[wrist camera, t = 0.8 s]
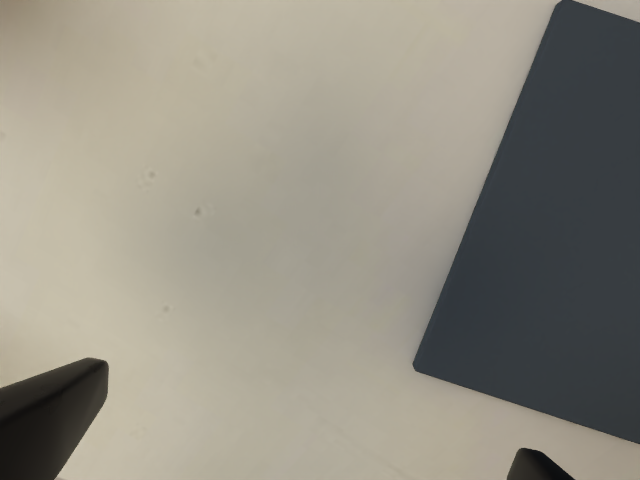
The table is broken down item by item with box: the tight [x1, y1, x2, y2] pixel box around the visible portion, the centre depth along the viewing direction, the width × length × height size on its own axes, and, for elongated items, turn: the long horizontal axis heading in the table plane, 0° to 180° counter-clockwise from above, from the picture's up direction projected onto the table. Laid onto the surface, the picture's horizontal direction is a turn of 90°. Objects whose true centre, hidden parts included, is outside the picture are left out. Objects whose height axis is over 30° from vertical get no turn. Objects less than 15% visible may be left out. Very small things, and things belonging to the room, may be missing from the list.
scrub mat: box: [413, 0, 640, 444], centre depth 20 cm, size 20×14×1 cm
